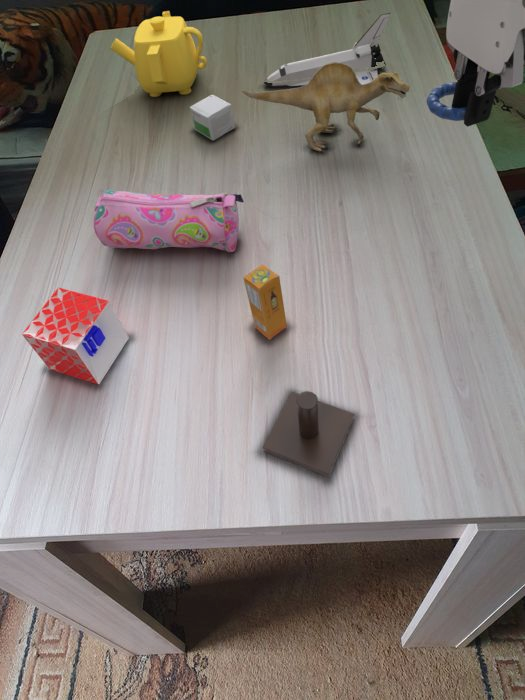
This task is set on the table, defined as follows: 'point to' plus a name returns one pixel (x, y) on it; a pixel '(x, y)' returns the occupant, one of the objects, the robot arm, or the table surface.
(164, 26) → the teapot
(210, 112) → the small box
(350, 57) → the space shuttle model
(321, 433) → the peg
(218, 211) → the pencil case
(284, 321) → the supplement box
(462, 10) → the robot arm
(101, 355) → the red patterned cube box
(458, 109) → the ring
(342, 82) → the dinosaur figurine
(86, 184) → the table surface
